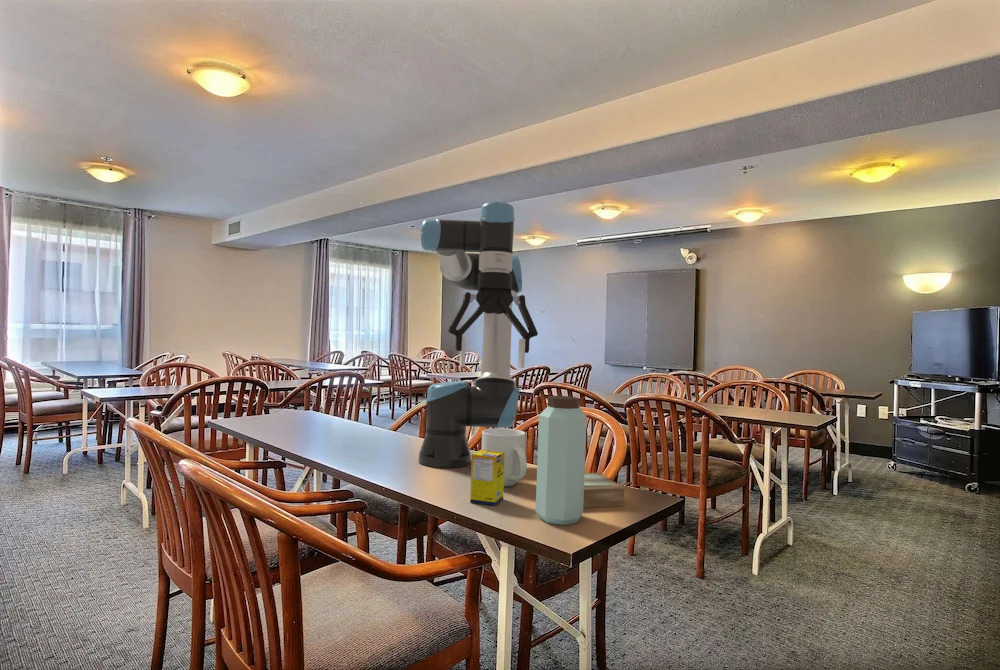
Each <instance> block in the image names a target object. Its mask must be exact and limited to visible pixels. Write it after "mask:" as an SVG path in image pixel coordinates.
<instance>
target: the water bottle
mask: <svg viewBox="0 0 1000 670" xmlns="http://www.w3.org/2000/svg"><path fill="white" fill-rule="evenodd" d="M587 420H588V419H587V415H586V413H585V412H584V411H583V410H582V408H581V405H580V397H577V396H571V395H570V396H569V395H568V396H567V395H549V396H547V407H545V409H544V410H542V411H541V413H540V414H539V415H538V432H537V433H538V434H537V436H538V438H537V440H538V441H537V458H536V459H537V462H536V463H537V464H536V465H537V467H536V490H535V493H536V494H535V513H536V515H537V516H538V518H539V519H540V520H543V521H544V522H545V523H547V524H552V525H560V526H561V525H562V526H566V525H567V526H568V525H573V524H577V523H578V521H579V520H580V519H581V517H582V515H583V514H584V508H583V503H584V476H585V473H586V471H585V470H586V469H585V468H586V446H587V445H586V444H587V443H586V442H587V422H588V421H587Z"/></svg>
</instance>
